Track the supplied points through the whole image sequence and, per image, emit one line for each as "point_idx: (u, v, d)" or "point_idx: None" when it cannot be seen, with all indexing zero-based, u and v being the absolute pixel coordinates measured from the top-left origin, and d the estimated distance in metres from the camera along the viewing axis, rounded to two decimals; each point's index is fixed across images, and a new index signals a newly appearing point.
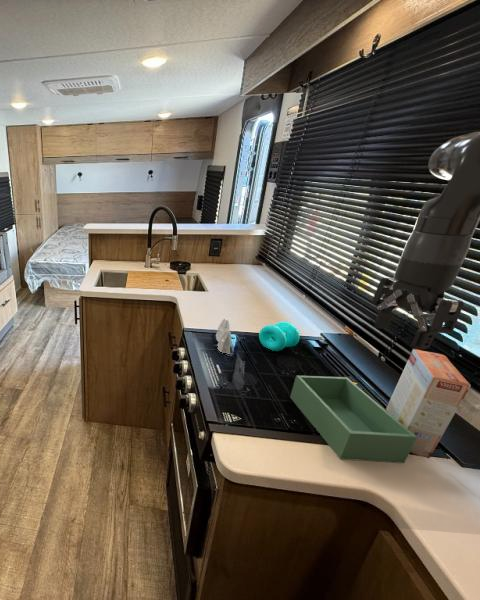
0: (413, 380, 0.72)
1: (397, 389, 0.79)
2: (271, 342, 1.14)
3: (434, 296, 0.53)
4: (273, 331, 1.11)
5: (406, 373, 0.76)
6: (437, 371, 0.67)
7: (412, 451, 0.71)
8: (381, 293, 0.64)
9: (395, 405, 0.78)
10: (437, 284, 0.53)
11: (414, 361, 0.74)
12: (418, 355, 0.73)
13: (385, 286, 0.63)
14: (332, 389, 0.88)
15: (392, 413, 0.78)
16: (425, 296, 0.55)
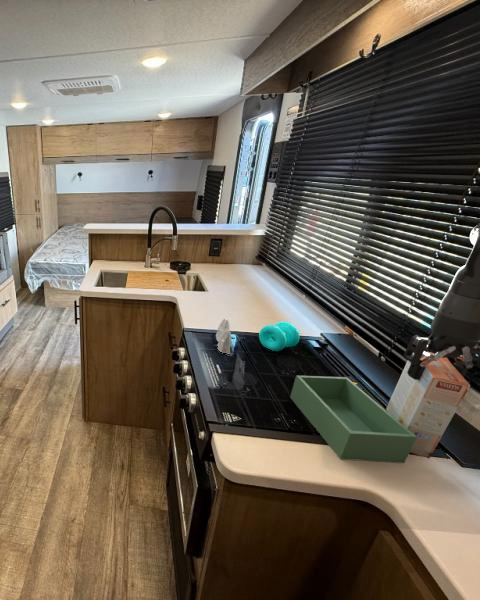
0: (412, 380, 0.72)
1: (397, 389, 0.79)
2: (271, 342, 1.14)
3: (428, 337, 0.68)
4: (273, 331, 1.11)
5: (406, 373, 0.76)
6: (436, 371, 0.67)
7: (412, 451, 0.71)
8: (470, 350, 0.68)
9: (395, 405, 0.78)
10: (434, 328, 0.67)
11: None
12: None
13: None
14: (332, 389, 0.88)
15: (392, 413, 0.78)
16: None
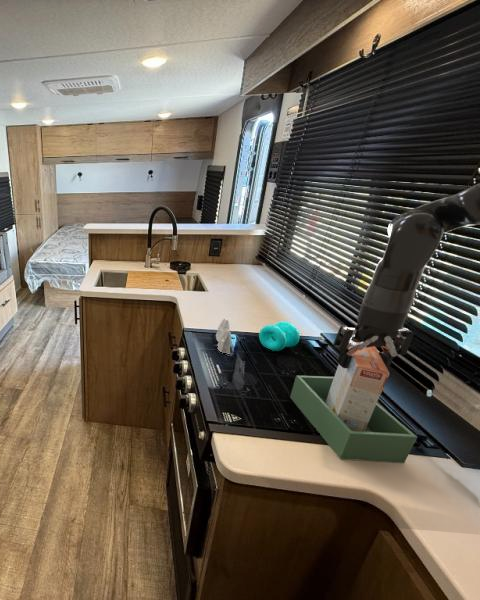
0: (344, 370, 0.75)
1: (334, 379, 0.82)
2: (271, 342, 1.14)
3: (355, 327, 0.71)
4: (273, 331, 1.11)
5: None
6: (362, 361, 0.70)
7: None
8: (395, 339, 0.71)
9: (331, 395, 0.81)
10: (359, 318, 0.70)
11: None
12: None
13: None
14: None
15: (329, 402, 0.81)
16: None
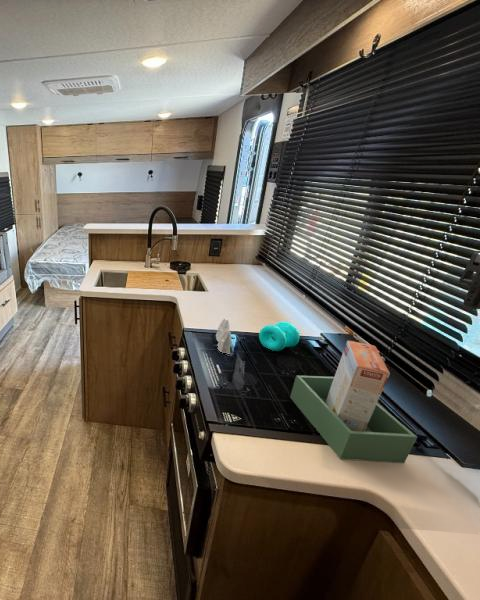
0: (344, 370, 0.75)
1: (334, 379, 0.82)
2: (271, 342, 1.14)
3: None
4: (273, 331, 1.11)
5: (341, 363, 0.79)
6: (362, 361, 0.70)
7: None
8: None
9: (332, 395, 0.81)
10: None
11: (347, 352, 0.77)
12: (350, 346, 0.76)
13: None
14: None
15: (329, 402, 0.81)
16: None
